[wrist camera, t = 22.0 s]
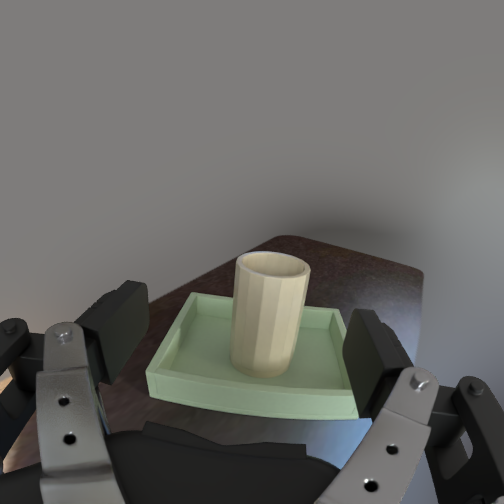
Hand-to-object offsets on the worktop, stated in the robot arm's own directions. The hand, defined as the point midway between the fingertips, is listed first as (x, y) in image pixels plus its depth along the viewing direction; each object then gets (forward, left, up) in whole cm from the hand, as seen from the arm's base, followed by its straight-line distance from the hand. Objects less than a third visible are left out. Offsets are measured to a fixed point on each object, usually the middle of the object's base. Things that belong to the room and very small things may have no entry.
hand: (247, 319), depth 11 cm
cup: (+1, +13, -13) cm, 18 cm away
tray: (+1, +13, -13) cm, 19 cm away
